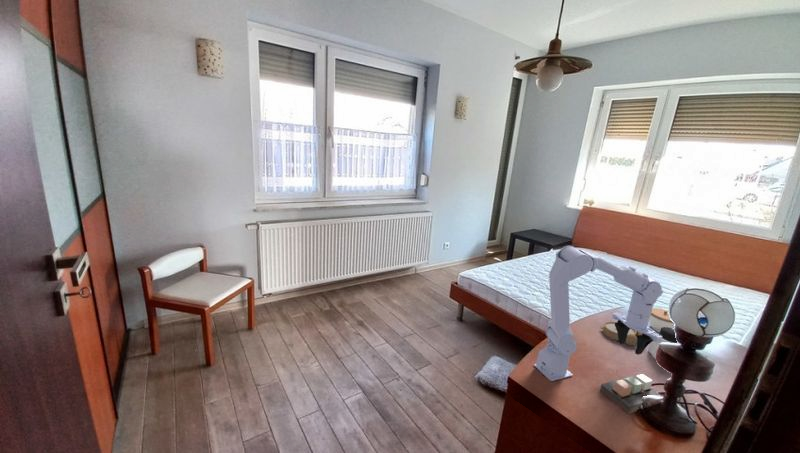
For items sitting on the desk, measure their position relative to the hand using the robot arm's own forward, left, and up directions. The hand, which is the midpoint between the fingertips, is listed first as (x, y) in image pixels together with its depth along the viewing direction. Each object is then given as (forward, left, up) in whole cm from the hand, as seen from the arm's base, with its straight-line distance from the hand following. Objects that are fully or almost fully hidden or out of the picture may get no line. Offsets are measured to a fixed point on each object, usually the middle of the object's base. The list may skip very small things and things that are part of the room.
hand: (629, 348), depth 102 cm
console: (-8, -8, -10) cm, 15 cm away
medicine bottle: (+24, +2, -11) cm, 26 cm away
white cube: (-3, -8, -7) cm, 11 cm away
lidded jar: (+44, +16, -11) cm, 48 cm away
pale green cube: (-8, -8, -7) cm, 14 cm away
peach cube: (-12, -8, -7) cm, 17 cm away
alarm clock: (+22, +16, -11) cm, 29 cm away
